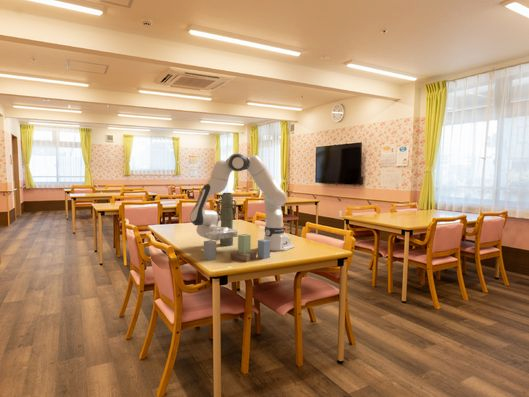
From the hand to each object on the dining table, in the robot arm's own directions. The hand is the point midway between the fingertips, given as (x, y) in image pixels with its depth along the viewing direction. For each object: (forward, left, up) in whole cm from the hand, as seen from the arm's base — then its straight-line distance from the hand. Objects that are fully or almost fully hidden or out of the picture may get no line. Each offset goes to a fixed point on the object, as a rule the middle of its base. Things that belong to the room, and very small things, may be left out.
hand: (230, 236), depth 204 cm
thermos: (-17, -24, -11) cm, 31 cm away
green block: (0, +11, -8) cm, 14 cm away
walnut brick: (0, +11, -12) cm, 16 cm away
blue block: (-10, +17, -11) cm, 23 cm away
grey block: (+15, -1, -11) cm, 19 cm away
